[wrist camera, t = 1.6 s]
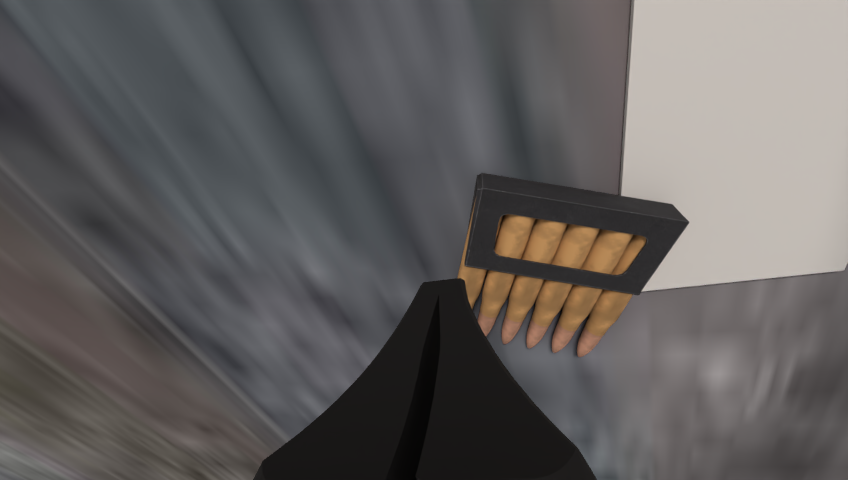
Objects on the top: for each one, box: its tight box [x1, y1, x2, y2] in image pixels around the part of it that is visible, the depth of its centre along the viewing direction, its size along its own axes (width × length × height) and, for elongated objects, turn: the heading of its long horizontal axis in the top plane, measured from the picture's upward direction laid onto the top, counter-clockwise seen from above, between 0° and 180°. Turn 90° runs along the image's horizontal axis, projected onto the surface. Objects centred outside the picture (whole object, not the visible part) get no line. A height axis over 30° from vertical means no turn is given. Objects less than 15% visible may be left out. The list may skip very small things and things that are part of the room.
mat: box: [619, 0, 848, 291], centre depth 18 cm, size 12×18×1 cm
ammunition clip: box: [458, 173, 689, 357], centre depth 22 cm, size 11×2×12 cm
